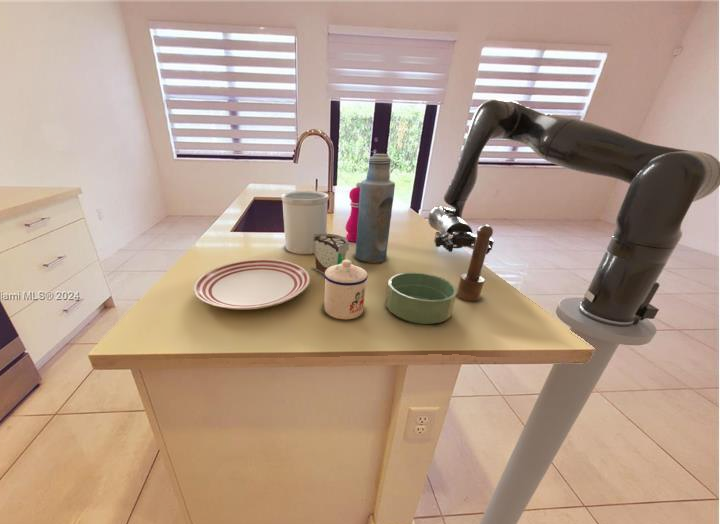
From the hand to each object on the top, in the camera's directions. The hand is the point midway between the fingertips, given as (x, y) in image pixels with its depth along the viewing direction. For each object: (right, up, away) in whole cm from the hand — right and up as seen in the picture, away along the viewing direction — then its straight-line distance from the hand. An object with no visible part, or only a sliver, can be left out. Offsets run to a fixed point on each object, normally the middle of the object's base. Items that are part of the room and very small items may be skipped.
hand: (469, 249), depth 79 cm
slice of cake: (-34, -5, +9) cm, 35 cm away
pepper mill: (-25, +9, +37) cm, 45 cm away
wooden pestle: (-1, -12, -2) cm, 12 cm away
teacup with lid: (-32, -14, -8) cm, 36 cm away
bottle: (-22, 0, +20) cm, 30 cm away
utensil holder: (-43, +5, +28) cm, 51 cm away
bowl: (-16, -15, -8) cm, 23 cm away
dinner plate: (-54, -11, -1) cm, 55 cm away
